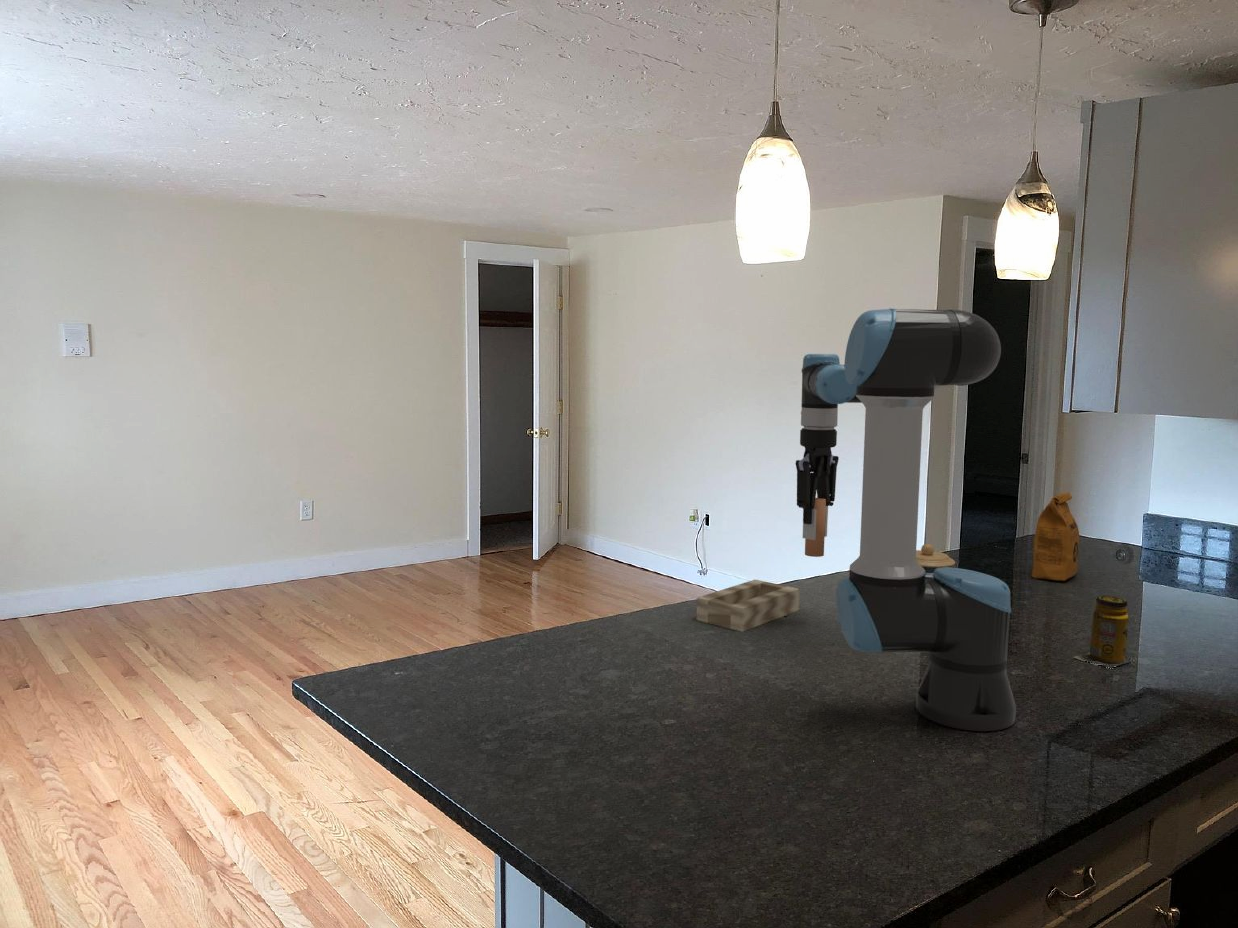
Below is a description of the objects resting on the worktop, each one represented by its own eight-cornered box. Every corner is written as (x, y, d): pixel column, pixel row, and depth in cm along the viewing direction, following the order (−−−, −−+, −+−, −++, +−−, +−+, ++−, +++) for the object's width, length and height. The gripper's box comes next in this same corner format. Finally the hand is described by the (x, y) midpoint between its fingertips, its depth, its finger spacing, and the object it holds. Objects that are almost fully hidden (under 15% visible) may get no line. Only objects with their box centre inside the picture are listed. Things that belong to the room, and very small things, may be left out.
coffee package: (1083, 577, 238) (1089, 494, 235) (1065, 585, 229) (1071, 499, 227) (1044, 570, 245) (1050, 489, 242) (1025, 577, 237) (1031, 494, 234)
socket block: (742, 631, 190) (742, 608, 189) (696, 619, 198) (697, 597, 197) (798, 610, 206) (799, 588, 205) (754, 600, 214) (754, 579, 213)
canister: (935, 637, 187) (940, 553, 185) (880, 622, 197) (884, 542, 194) (967, 625, 196) (971, 544, 193) (913, 611, 205) (916, 535, 203)
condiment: (1134, 661, 173) (1139, 600, 172) (1110, 670, 169) (1115, 607, 167) (1097, 651, 179) (1101, 591, 178) (1073, 658, 175) (1077, 597, 173)
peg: (817, 557, 191) (819, 501, 190) (801, 554, 194) (802, 499, 193) (827, 554, 194) (829, 499, 193) (811, 551, 197) (813, 497, 196)
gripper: (824, 424, 199) (820, 529, 202) (780, 429, 187) (777, 540, 190) (855, 426, 194) (850, 534, 197) (812, 431, 182) (808, 546, 185)
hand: (814, 536), depth 194 cm, fingers closed on peg, 4 cm apart
